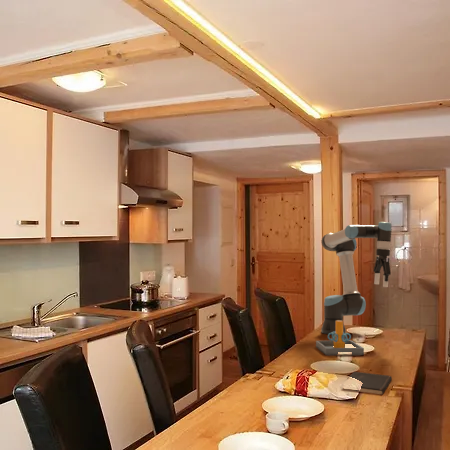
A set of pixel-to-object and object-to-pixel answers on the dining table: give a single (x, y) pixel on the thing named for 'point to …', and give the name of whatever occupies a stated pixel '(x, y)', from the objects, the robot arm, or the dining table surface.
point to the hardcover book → (372, 382)
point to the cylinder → (339, 335)
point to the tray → (328, 348)
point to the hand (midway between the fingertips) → (380, 285)
